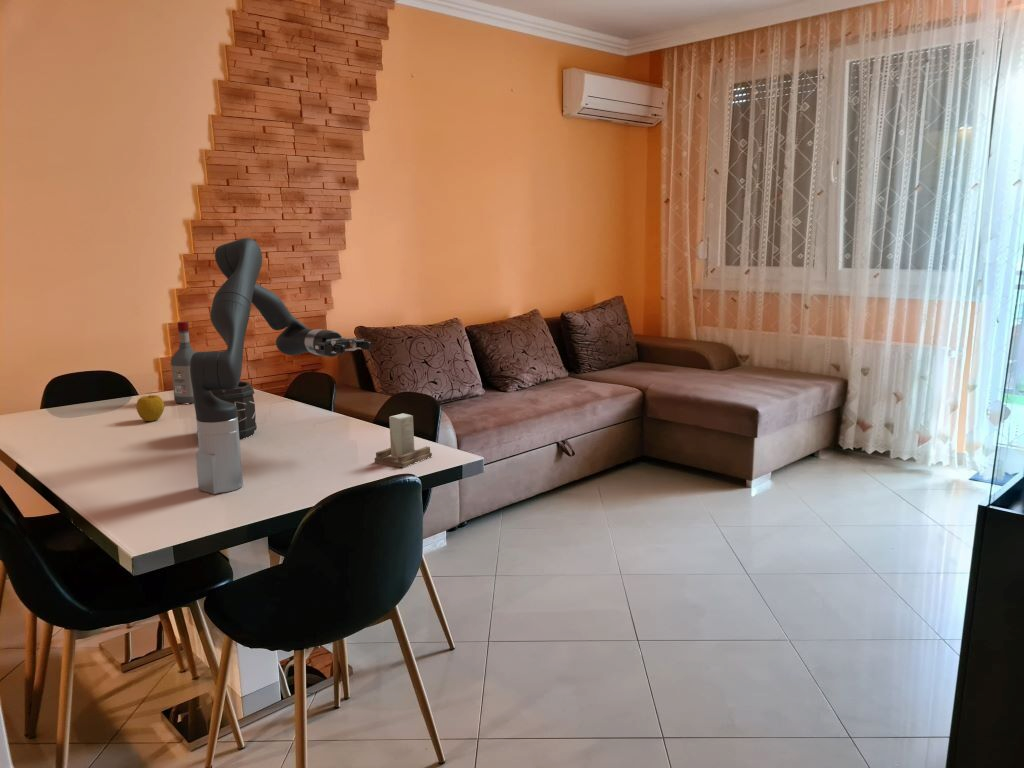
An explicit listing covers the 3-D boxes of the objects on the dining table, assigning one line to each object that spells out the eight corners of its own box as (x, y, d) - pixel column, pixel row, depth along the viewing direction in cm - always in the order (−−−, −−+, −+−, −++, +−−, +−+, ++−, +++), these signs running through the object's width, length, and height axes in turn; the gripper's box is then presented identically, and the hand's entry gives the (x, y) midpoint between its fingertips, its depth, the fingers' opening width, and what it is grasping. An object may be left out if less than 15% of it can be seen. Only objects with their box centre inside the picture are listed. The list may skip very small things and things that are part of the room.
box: (404, 451, 206) (403, 412, 204) (415, 454, 203) (414, 415, 201) (390, 455, 202) (388, 416, 200) (400, 458, 199) (398, 418, 197)
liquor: (192, 404, 275) (185, 323, 270) (171, 403, 277) (163, 323, 272) (208, 399, 284) (201, 321, 279) (187, 398, 286) (180, 320, 281)
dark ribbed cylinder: (207, 446, 218) (203, 393, 215) (189, 434, 232) (184, 385, 229) (267, 436, 229) (264, 386, 226) (246, 425, 243) (243, 378, 240)
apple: (155, 424, 245) (152, 398, 244) (131, 423, 247) (129, 397, 245) (170, 418, 254) (168, 393, 252) (148, 417, 255) (145, 392, 253)
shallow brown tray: (403, 468, 195) (402, 457, 195) (374, 462, 201) (374, 452, 200) (431, 457, 205) (431, 447, 205) (404, 451, 211) (403, 442, 210)
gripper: (301, 332, 209) (334, 336, 198) (343, 327, 219) (377, 331, 208) (302, 358, 210) (335, 364, 199) (345, 352, 220) (378, 358, 210)
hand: (357, 347), depth 204 cm, fingers open, 8 cm apart
